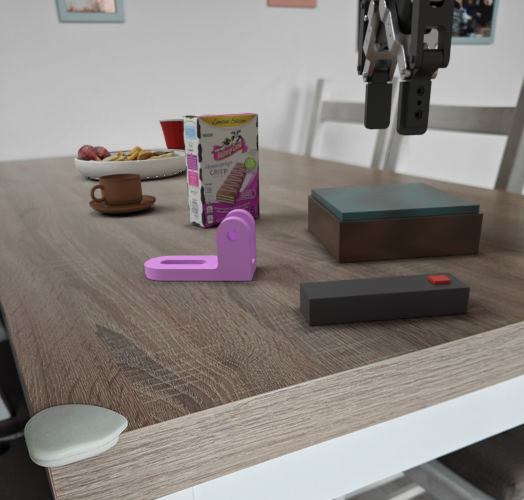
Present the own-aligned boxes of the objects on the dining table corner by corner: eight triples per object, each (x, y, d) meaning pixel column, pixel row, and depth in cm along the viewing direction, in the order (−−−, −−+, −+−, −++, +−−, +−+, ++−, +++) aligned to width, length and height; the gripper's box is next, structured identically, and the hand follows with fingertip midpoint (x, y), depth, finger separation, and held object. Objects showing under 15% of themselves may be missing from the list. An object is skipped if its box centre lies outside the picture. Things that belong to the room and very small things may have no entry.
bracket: (256, 266, 67) (254, 208, 64) (251, 280, 62) (248, 218, 59) (153, 266, 69) (146, 210, 66) (139, 280, 64) (131, 220, 61)
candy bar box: (205, 229, 86) (196, 115, 79) (189, 224, 90) (179, 115, 83) (262, 218, 92) (259, 112, 85) (245, 214, 96) (241, 111, 89)
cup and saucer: (130, 219, 95) (125, 182, 92) (76, 215, 99) (70, 180, 97) (169, 206, 105) (166, 172, 102) (118, 203, 109) (114, 171, 107)
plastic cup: (198, 155, 186) (195, 117, 181) (191, 159, 177) (188, 118, 171) (166, 156, 187) (163, 118, 182) (158, 160, 178) (154, 119, 173)
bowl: (194, 165, 162) (192, 136, 158) (188, 180, 135) (185, 146, 131) (91, 169, 161) (86, 140, 157) (64, 185, 133) (58, 151, 130)
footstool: (420, 221, 87) (424, 182, 84) (478, 253, 69) (484, 205, 67) (307, 228, 85) (308, 188, 82) (338, 262, 68) (339, 213, 65)
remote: (299, 308, 54) (299, 279, 53) (446, 297, 56) (449, 269, 54) (309, 326, 50) (309, 295, 49) (466, 313, 52) (471, 284, 50)
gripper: (512, -153, 33) (475, 136, 40) (421, -84, 46) (405, 125, 53) (391, -155, 32) (374, 140, 39) (333, -85, 45) (328, 128, 52)
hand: (392, 131), depth 46 cm, fingers open, 8 cm apart
